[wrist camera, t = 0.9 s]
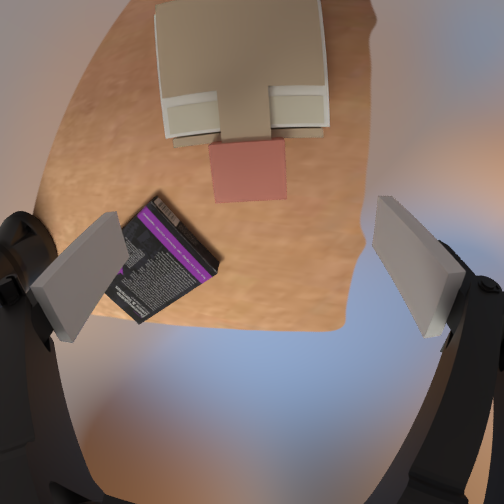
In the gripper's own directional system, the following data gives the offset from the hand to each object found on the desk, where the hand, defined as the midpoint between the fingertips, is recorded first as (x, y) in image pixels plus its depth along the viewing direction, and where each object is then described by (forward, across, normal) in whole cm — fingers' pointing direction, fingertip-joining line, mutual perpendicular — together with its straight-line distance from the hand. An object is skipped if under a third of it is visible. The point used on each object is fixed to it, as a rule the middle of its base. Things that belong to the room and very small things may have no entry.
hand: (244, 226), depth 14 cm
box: (+24, -18, -16) cm, 35 cm away
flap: (+12, 0, +7) cm, 14 cm away
